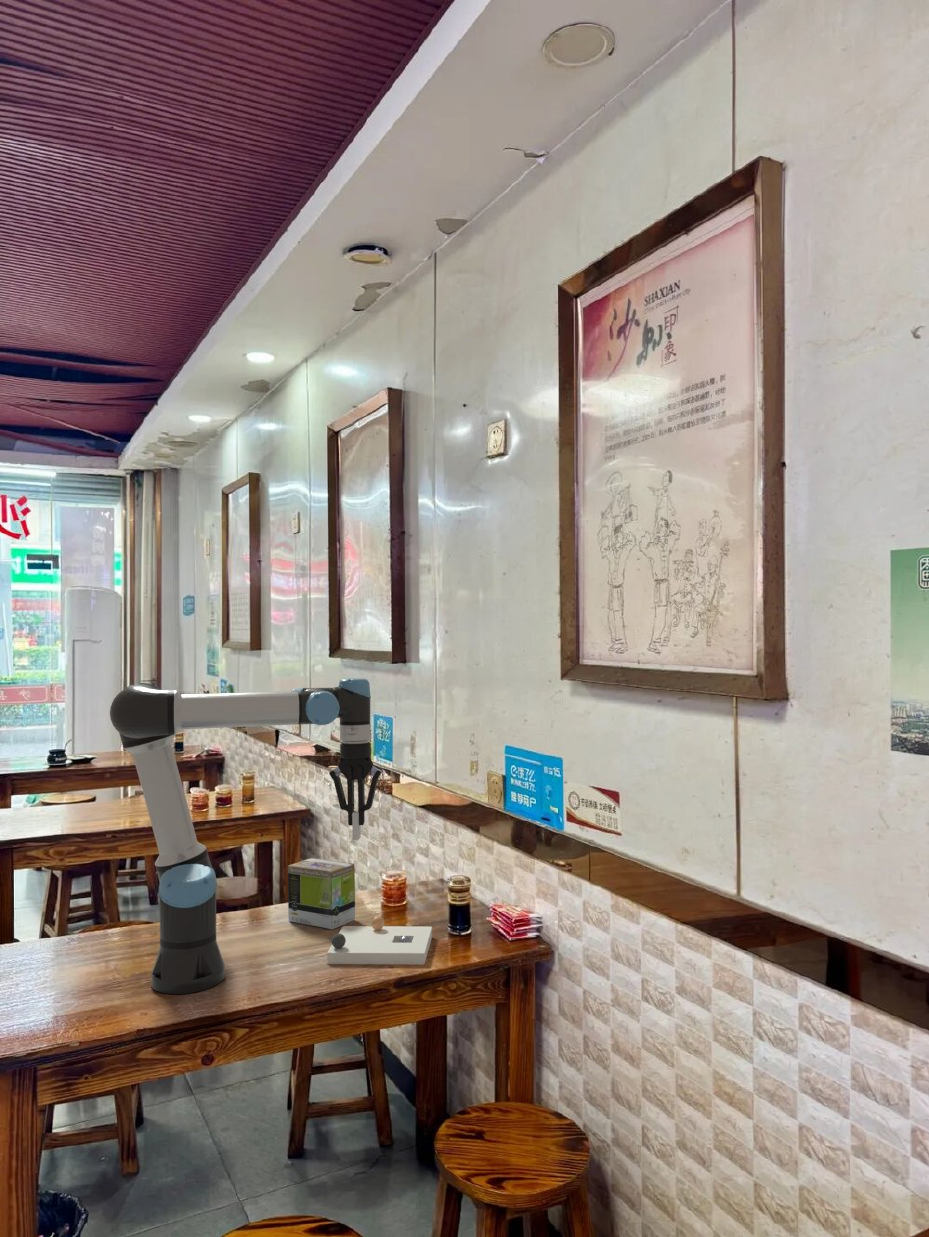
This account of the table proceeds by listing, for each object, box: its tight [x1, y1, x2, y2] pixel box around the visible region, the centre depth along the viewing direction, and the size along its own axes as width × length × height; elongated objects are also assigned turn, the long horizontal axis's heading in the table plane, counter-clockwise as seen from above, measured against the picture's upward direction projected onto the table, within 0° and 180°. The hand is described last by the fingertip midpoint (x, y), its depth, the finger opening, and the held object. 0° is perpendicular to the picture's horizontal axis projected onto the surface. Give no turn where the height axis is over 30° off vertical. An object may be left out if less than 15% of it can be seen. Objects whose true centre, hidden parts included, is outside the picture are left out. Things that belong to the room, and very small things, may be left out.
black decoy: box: [331, 933, 346, 948], centre depth 197 cm, size 3×3×3 cm
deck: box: [326, 925, 433, 966], centre depth 202 cm, size 22×18×2 cm
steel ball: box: [399, 936, 412, 943], centre depth 202 cm, size 3×3×3 cm
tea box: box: [287, 857, 356, 930], centre depth 224 cm, size 15×10×15 cm
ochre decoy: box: [370, 915, 385, 930], centre depth 209 cm, size 3×3×3 cm
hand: (356, 838), depth 210 cm, fingers closed
